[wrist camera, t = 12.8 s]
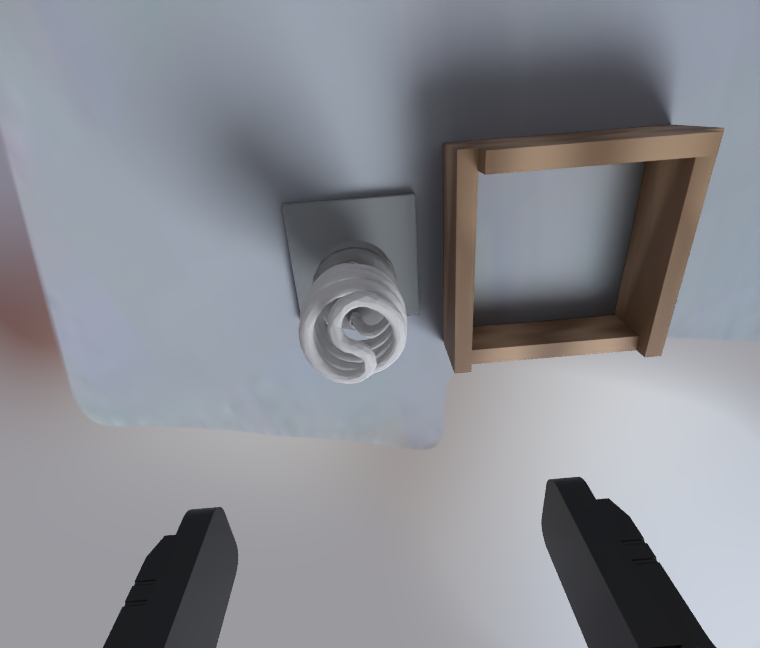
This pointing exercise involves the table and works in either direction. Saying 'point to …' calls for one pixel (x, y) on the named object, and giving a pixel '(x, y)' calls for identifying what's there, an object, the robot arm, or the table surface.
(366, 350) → the light bulb
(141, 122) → the table surface
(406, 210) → the slate mat
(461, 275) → the wooden frame
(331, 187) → the table surface
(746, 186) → the table surface
